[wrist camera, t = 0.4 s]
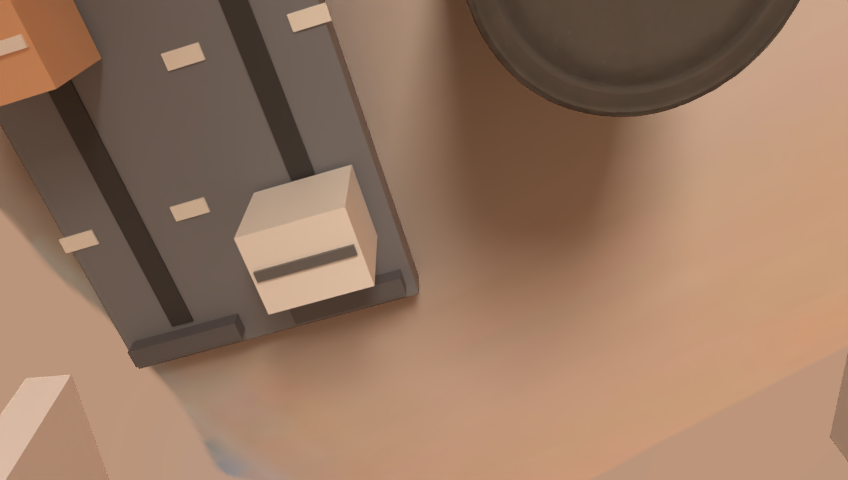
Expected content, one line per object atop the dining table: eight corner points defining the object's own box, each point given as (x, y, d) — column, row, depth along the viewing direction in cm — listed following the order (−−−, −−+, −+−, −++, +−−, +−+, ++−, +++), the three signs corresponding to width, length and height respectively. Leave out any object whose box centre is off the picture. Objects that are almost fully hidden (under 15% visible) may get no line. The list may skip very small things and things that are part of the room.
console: (-99, -89, 33) (-143, -84, 30) (259, -213, 31) (246, -219, 29) (145, 349, 44) (128, 381, 41) (423, 273, 42) (425, 301, 39)
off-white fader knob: (254, 192, 37) (233, 240, 32) (351, 164, 37) (344, 208, 32) (283, 262, 39) (267, 316, 34) (377, 236, 38) (374, 287, 34)
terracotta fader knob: (-49, 2, 33) (-123, 26, 28) (57, -33, 32) (0, -15, 28) (-1, 90, 34) (-62, 126, 30) (101, 58, 34) (54, 89, 29)
